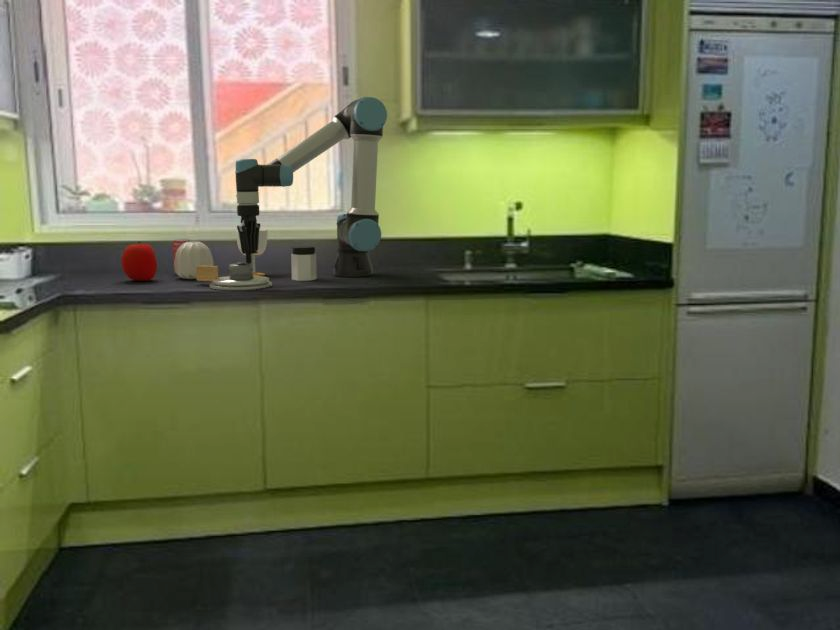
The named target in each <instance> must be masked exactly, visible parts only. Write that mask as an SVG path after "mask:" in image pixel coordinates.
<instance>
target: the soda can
mask: <svg viewBox="0 0 840 630" xmlns="http://www.w3.org/2000/svg"><path fill="white" fill-rule="evenodd" d="M185 242H192V241H191V239H188V238H185V239H182V238H181V239H179V238H178V239H174V240H173V243H172V254H173V256H172V257H173V264H174V263H175V255H176V252H177V249H178V248H179V247H180V246H181V245H182V244H184V243H185ZM173 269H174V273H175V274H176V275H177V273H176V272H175V268H174V267H173Z"/></svg>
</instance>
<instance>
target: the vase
mask: <svg viewBox="0 0 840 630" xmlns="http://www.w3.org/2000/svg"><path fill="white" fill-rule="evenodd" d="M199 265H204V266H215V265H214V258H213V254H212V251H211V248H210V247H208V246H207V245H206V244H205V243H203V242H201V241H195V240H194V241H191V242H185V243H184V244H182V245H181V246H180V247H179V248H178V249H177V252H176V255H175V263H174V262H173V269H174V268H175V272H176V273H177V274H176V273H175V272H174V273H175V274H176V275H177V276H178V277H179V278H181V279H183V280H184V279H185V280H197V276H196V266H199Z"/></svg>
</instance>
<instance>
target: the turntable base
mask: <svg viewBox="0 0 840 630" xmlns="http://www.w3.org/2000/svg"><path fill="white" fill-rule="evenodd" d="M270 286H271V287H272V286H273V282H272V281H270V280H269V283H267V284H262V285H255V286H218V285H214V284H212V282H210V283H209V289H211V288H212V290H215V289H216V291H226V292H227V291H228V292H230V291H233V292H241V291H242V292H243V291H244V292H245V291H257V290H256V289H258V290H261V289H260V288H265V289H267V288H266V287H269V288H271V287H270Z"/></svg>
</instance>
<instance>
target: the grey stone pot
mask: <svg viewBox="0 0 840 630" xmlns="http://www.w3.org/2000/svg"><path fill="white" fill-rule="evenodd" d="M228 270H229V271H228V272H229V273H228V274H229V275H228V276H230V280H237V281H241V280H252V279H253V264H250V263H246V261H244V262H243V261H240V262H236V263H230V264H228Z"/></svg>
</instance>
